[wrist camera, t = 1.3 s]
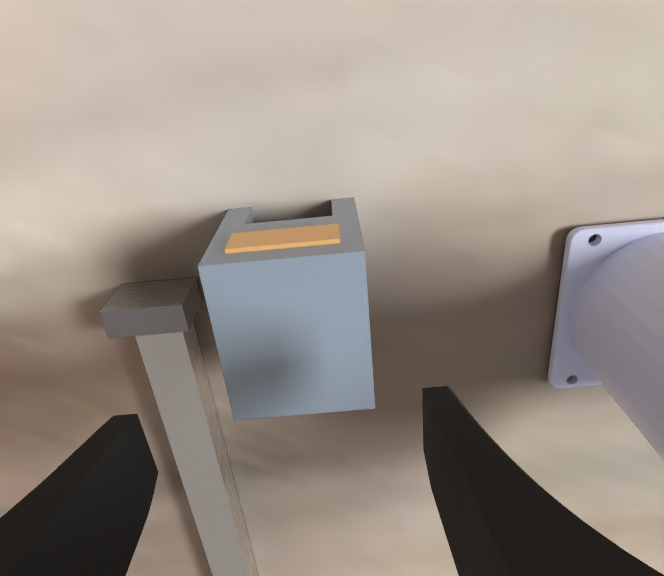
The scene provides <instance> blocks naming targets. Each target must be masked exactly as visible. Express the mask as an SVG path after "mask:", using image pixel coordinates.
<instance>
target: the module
mask: <svg viewBox="0 0 664 576" xmlns="http://www.w3.org/2000/svg"><path fill="white" fill-rule="evenodd" d="M331 203H332V216H324V217H314V218H303V219H292V220H282V221H271V222H260V223H254V221H253V215H252V210H251V207H248V208H238V209H229V210H228V211H227V213H226V215H225V217H224V219H223V221H222V222H221V224H220V226H219V228H218V230H217V232H216V234H215V235H214V237H213V239H212V241H211V243H210V245H209V246H208V248H207V250H206V252H205V254H204V256H203V257H202V259H201V261H200V263H199V265H198V270H199V274H200V279H201V283H202V287H203V291H204V295H205V300H206V304H207V308H208V312H209V316H210V321H211V325H212V329H213V333H214V338H215V342H216V346H217V350H218V354H219V359H220V363H221V367H222V371H223V376H224V380H225V384H226V388H227V392H228V397H229V401H230V405H231V409H232V413H233V418H234V420H245V419H257V418H269V417H281V416H292V415H304V414H316V413H328V412H340V411H352V410H364V409H375V396H374V380H373V365H372V350H371V335H370V320H369V305H368V290H367V274H366V259H365V249H364V244H363V239H362V234H361V229H360V224H359V219H358V215H357V210H356V205H355V200H354V198H343V199H333V200H331Z"/></svg>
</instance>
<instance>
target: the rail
mask: <svg viewBox="0 0 664 576" xmlns="http://www.w3.org/2000/svg"><path fill="white" fill-rule="evenodd" d="M201 304H202V299H201V295H200V290H199V286H198V282H197V278H196V277H195V278H184V279H173V280H162V281H151V282H140V283H129V284H122V285H121V286H120V287H119V288H118V290H117V291H116V292H115V293H114V295H113V296H112V297H111V298H110V299H109V301H108V302H107V303H106V304H105V306H104V307H103V308H102V309H101V311H100V312H99V313H100V316H101V319H102V322H103V325H104V327H105V330H106V333H107V336H108V339H110V338H121V337H133V336H135V338H136V341H137V344H138V347H139V350H140V353H141V356H142V359H143V363H144V366H145V369H146V372H147V375H148V378H149V381H150V384H151V387H152V390H153V393H154V396H155V400H156V403H157V406H158V409H159V412H160V415H161V418H162V421H163V424H164V427H165V430H166V433H167V437H168V440H169V443H170V446H171V449H172V452H173V455H174V458H175V461H176V464H177V467H178V470H179V474H180V477H181V480H182V483H183V486H184V489H185V492H186V495H187V498H188V501H189V504H190V508H191V511H192V514H193V517H194V520H195V523H196V526H197V529H198V532H199V535H200V538H201V541H202V545H203V548H204V551H205V554H206V557H207V560H208V563H209V566H210V569H211V572H212V575H213V576H258V572H257V568H256V564H255V560H254V556H253V553H252V549H251V545H250V541H249V537H248V533H247V529H246V525H245V521H244V517H243V513H242V510H241V506H240V502H239V498H238V494H237V490H236V486H235V482H234V478H233V474H232V471H231V467H230V463H229V459H228V455H227V451H226V447H225V443H224V439H223V435H222V431H221V428H220V424H219V420H218V416H217V412H216V408H215V404H214V400H213V396H212V392H211V389H210V385H209V381H208V377H207V373H206V369H205V365H204V361H203V357H202V353H201V349H200V346H199V342H198V338H197V334H196V330H195V326H194V319H195V317H196V315H197V313H198V311H199V308H200V306H201Z"/></svg>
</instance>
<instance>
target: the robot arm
mask: <svg viewBox="0 0 664 576" xmlns="http://www.w3.org/2000/svg"><path fill="white" fill-rule="evenodd" d="M594 234H597V237H596V239H595V240H594V241H593V242H590V243H589V242H588V240H589V238H590V237H591V236H592V235H594ZM572 375H574V376H573V377H572V378H570V379H567V378H568V377H570V376H572ZM548 381H549V383H550V384H551V385H552V387H554V388H557V389H562V388H574V387H586V386H597V385H603V386H604V387H605V389H606V390H607V391H608V392H609V394H610V395H611V396H612V397H613V399H614V400H615V401H616V402H617V403H618V405H619V406H620V407H621V408H622V410H623V411H624V412H625V413H626V415H627V416H628V417H629V418H630V419H631V421H632V422H633V423H634V424H635V426H636V427H637V428H638V429H639V431H640V432H641V433H642V434H643V436H644V437H645V438H646V439H647V440H648V442H649V443H650V444H651V445H652V447H653V448H654V449H655V450H656V452H657V453H658V454H659V455H660V456H661V458H662V459H663V460H664V219H657V220H647V221H636V222H625V223H614V224H603V225H592V226H582V227H577V228H574V229H573V230H571V231H570V233H569V234H568V235H567V238H566V244H565V251H564V259H563V266H562V274H561V281H560V289H559V296H558V304H557V311H556V319H555V326H554V333H553V341H552V348H551V356H550V363H549V371H548ZM423 445H424V454H425V459H426V464H427V470H428V475H429V479H430V484H431V489H432V492H433V495H434V499H435V502H436V505H437V508H438V511H439V515H440V518H441V521H442V524H443V527H444V530H445V534H446V537H447V540H448V543H449V546H450V549H451V553H452V556H453V559H454V562H455V565H456V568H457V571H458V575H459V576H664V575H663V574H661V573H659V572H658V571H656V570H654V569H653V568H651V567H650V566H648V565H647V564H645V563H643V562H642V561H640V560H639V559H637V558H635V557H634V556H632V555H631V554H629V553H628V552H626V551H625V550H623V549H622V548H620V547H619V546H617V545H616V544H615V543H613V542H612V541H610V540H609V539H608V538H606V537H605V536H603V535H602V534H600V533H599V532H598V531H596V530H595V529H593V528H592V527H591V526H589V525H588V524H586V523H585V522H584V521H582V520H581V519H580V518H578V517H577V516H576V515H575V514H573V513H572V512H571V511H570V510H568V509H567V508H566V507H564V506H563V505H562V504H561V503H560V502H558V501H557V500H556V499H555V498H554V497H552V496H551V495H550V494H549V493H548V492H546V491H545V490H544V489H543V488H542V487H541V486H540V485H538V484H537V483H536V482H535V481H534V480H533V479H532V478H531V477H530V476H529V475H527V474H526V473H525V472H524V471H523V470H522V469H521V468H520V467H519V466H518V465H517V464H516V463H515V462H514V461H513V460H512V459H511V458H510V457H509V456H508V455H507V454H506V453H505V452H504V451H503V450H502V449H501V448H500V447H499V446H498V444H497V443H496V442H495V441H494V440H493V439H492V438H491V437H490V436H489V435H488V434H487V433H486V432H485V430H484V429H483V428H482V427H481V426H480V425H479V424H478V422H477V421H476V420H475V419H474V418H473V416H472V415H471V414H470V413H469V412H468V410H467V409H466V408H465V407H464V405H463V404H462V403H461V402H460V400H459V399H458V398H457V396H456V395H455V394H454V392H453V391H452V390H451V389H450V388H449V387H448V386H443V387H431V388H423ZM157 475H158V470H157V467H156V465H155V462H154V459H153V456H152V454H151V451H150V448H149V445H148V442H147V440H146V437H145V434H144V431H143V428H142V426H141V423H140V420H139V417H138V415H137V414H128V415H117V416H113V417H112V418H111V419H109V420H108V421H107V422H106V423H105V424H104V425H103V426H101V427H100V428H99V429H98V430H97V431H96V432H95V433H94V434H93V435H92V436H91V437H90V438H89V439H88V440H87V441H86V442H84V443H83V444H82V445H81V446H80V447H79V448H78V449H77V450H76V451H75V452H74V453H73V454H72V455H71V456H70V457H69V458H68V459H66V460H65V461H64V462H63V463H62V464H61V465H60V466H59V467H58V468H57V469H56V470H55V471H54V472H53V473H51V474H50V475H49V476H48V477H47V478H46V479H45V480H44V481H43V482H42V483H40V484H39V485H38V486H37V487H36V488H35V489H34V490H32V491H31V492H30V493H29V494H28V495H27V496H25V497H24V498H23V499H22V500H21V501H20V502H19V503H17V504H16V505H15V506H14V507H13V508H12V509H11V510H9V511H8V512H7V513H6V514H5V515H3V516H2V517H1V518H0V576H125V575H126V573H127V570H128V567H129V565H130V562H131V559H132V557H133V554H134V551H135V549H136V546H137V543H138V541H139V538H140V535H141V533H142V530H143V527H144V524H145V522H146V519H147V516H148V513H149V510H150V506H151V502H152V498H153V494H154V489H155V484H156V480H157Z"/></svg>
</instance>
